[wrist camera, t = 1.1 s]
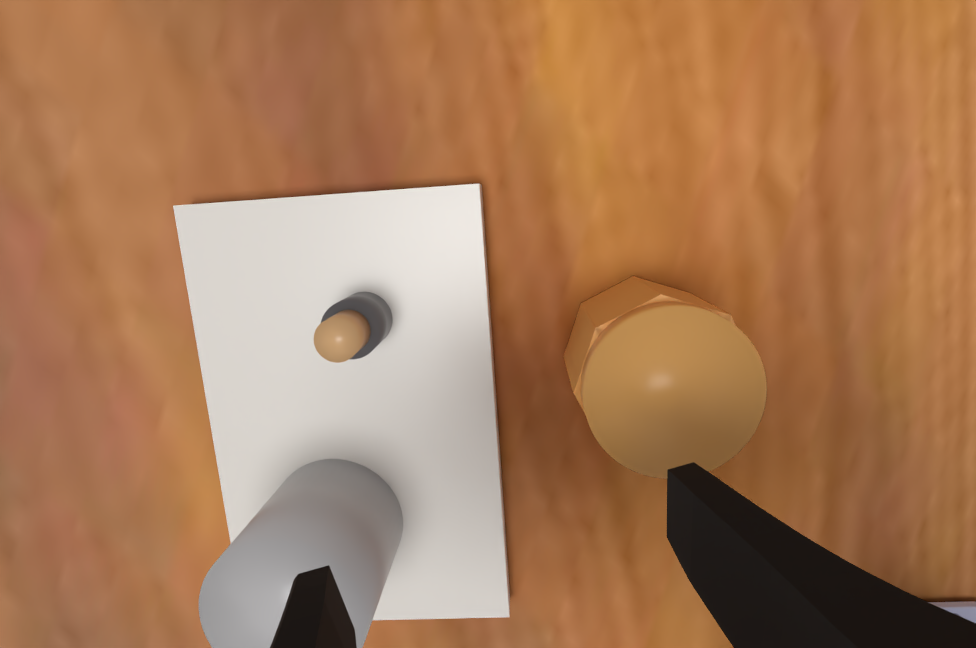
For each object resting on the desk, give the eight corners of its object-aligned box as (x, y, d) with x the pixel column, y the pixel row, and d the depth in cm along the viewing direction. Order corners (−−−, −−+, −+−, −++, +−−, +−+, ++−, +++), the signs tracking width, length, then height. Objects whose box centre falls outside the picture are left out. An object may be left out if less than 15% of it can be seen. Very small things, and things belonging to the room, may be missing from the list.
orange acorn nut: (728, 303, 22) (796, 336, 16) (679, 430, 23) (728, 500, 18) (593, 263, 22) (616, 283, 16) (551, 392, 23) (560, 451, 18)
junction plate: (481, 184, 21) (464, 176, 15) (510, 597, 25) (506, 739, 18) (191, 205, 22) (53, 206, 16) (257, 603, 26) (166, 741, 19)
